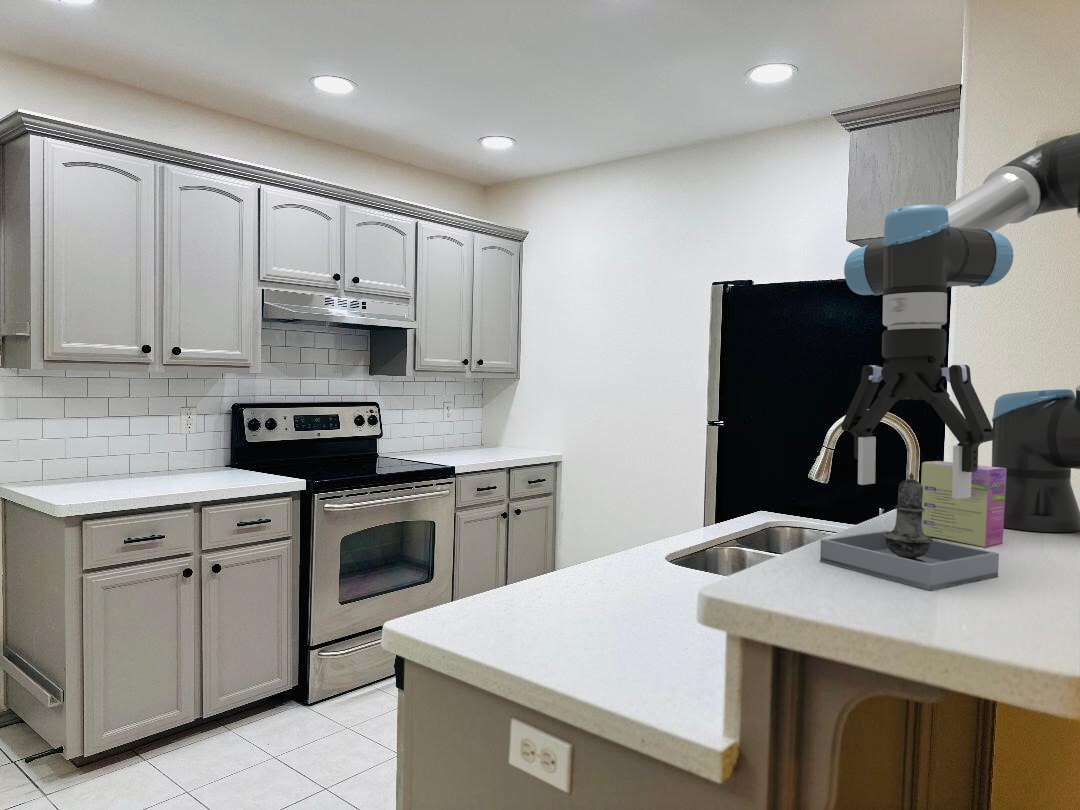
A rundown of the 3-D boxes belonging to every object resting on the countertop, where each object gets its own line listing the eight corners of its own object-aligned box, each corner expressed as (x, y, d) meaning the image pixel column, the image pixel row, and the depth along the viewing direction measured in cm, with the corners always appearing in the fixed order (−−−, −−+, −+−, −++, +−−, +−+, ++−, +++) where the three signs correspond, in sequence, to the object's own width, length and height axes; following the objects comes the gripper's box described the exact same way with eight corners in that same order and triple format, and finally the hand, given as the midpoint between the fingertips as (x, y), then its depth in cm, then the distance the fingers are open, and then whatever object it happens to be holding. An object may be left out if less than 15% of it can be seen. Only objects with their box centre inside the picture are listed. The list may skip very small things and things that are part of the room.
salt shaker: (937, 571, 98) (943, 477, 98) (888, 567, 99) (893, 474, 99) (923, 560, 104) (928, 471, 104) (877, 556, 105) (882, 469, 105)
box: (1004, 543, 119) (1007, 467, 118) (985, 548, 115) (988, 469, 115) (937, 531, 127) (939, 460, 127) (918, 535, 124) (920, 462, 123)
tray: (886, 550, 112) (887, 530, 112) (998, 576, 98) (998, 553, 98) (820, 561, 105) (820, 539, 105) (930, 590, 91) (931, 565, 91)
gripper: (816, 331, 109) (814, 480, 111) (993, 322, 88) (990, 507, 89) (851, 332, 113) (850, 476, 114) (1030, 323, 92) (1026, 501, 93)
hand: (911, 490), depth 102 cm, fingers open, 13 cm apart
